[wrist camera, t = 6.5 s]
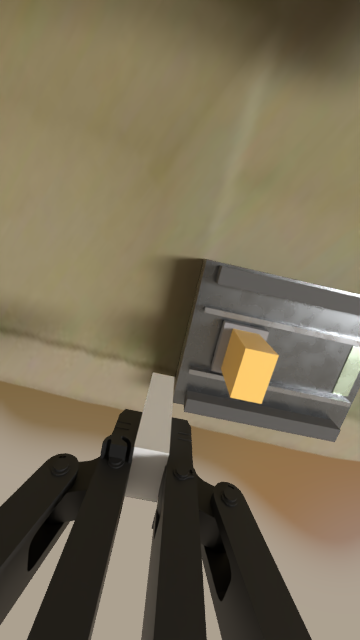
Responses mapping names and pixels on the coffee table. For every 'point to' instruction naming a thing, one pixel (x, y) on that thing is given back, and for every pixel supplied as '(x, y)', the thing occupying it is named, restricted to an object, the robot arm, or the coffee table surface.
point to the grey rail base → (275, 347)
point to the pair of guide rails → (263, 414)
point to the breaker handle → (244, 360)
